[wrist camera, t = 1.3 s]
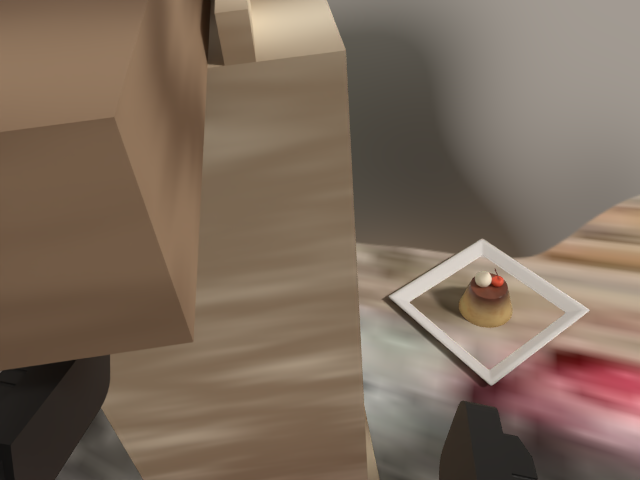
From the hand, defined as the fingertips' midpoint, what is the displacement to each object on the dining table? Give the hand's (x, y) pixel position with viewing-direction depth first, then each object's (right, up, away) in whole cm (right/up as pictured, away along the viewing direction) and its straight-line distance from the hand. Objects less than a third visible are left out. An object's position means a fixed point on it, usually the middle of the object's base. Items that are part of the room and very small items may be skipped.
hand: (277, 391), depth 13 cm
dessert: (+15, -3, +38) cm, 41 cm away
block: (-4, +9, +5) cm, 11 cm away
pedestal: (-3, -11, +30) cm, 32 cm away
